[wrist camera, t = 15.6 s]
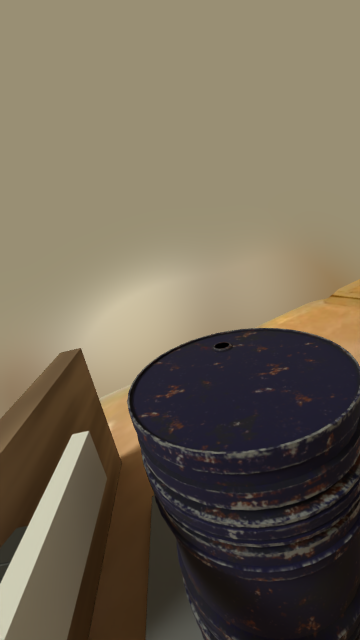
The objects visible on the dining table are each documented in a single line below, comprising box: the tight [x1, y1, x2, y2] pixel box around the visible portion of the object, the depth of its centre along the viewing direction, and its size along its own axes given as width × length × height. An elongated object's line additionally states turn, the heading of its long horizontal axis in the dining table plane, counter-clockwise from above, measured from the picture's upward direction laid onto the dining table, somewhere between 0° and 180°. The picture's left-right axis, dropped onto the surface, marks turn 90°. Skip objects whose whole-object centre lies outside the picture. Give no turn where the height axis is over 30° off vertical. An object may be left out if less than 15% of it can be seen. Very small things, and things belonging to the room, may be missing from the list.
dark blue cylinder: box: [127, 328, 360, 640], centre depth 14 cm, size 10×10×15 cm
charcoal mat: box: [145, 496, 204, 640], centre depth 17 cm, size 16×16×1 cm
